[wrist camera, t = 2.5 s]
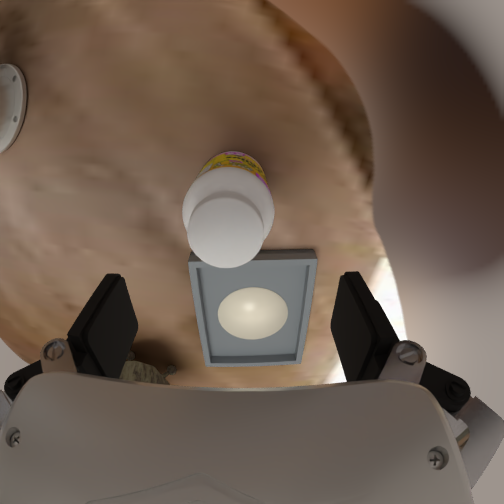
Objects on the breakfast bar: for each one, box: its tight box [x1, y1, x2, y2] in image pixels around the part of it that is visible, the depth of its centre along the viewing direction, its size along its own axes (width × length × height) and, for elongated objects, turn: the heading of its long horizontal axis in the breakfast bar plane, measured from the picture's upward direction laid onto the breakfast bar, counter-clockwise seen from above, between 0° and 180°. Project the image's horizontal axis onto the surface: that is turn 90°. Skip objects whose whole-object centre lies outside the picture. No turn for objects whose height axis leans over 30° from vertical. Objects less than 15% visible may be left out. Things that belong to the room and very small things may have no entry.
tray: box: [188, 249, 317, 367], centre depth 35 cm, size 18×14×2 cm
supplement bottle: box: [182, 151, 274, 268], centre depth 22 cm, size 7×7×13 cm
